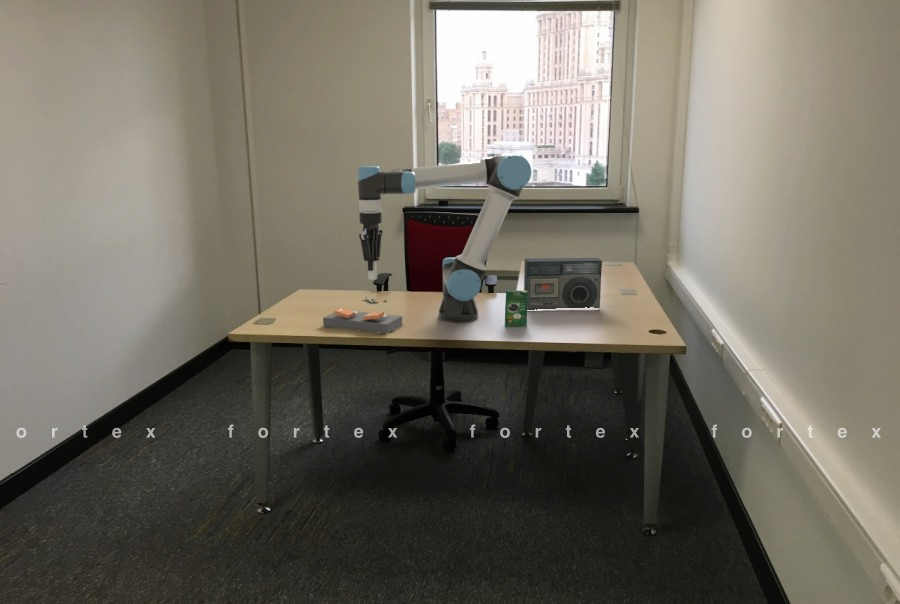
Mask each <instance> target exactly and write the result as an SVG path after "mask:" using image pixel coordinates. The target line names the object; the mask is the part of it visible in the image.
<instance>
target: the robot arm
mask: <svg viewBox="0 0 900 604" xmlns="http://www.w3.org/2000/svg"><path fill="white" fill-rule="evenodd" d="M357 172H358V173H357V186H358V187H357V188H358V189H357V191H358V207H359V212H360V213H359V214H358V215H359V224H361V225H362V233H359V235H358V237H359V240H360V244H361V250H362V256H363V260H364V262H367V278H368V280H371V281H375V280H378V270H377V269H378V263H377V261H380V257H381V248H382V247H381V246H382V236H383V233H384V232H383V230H382V229H380V227H379V224H381V223H382V219H383V218H382V213H381V212H382V196H381V195H410V194H414V193H416V190H420V189H430V188H439V187H440V188H441V187H449V186H459V185H467V184H477V183H478V184H479V183H482V184H483V185H485V186H486V185H487V187H488V193H487V197H486V198H485V201H484V203H483V205H482V208H481V210H480V212H479V214H478V216H477V219H476V221H475V224H474V226H473V228H472V230H471V232H470V234H469V237H468V238H467V241H466V244H465V246H464V249H463V251H462V253H461V254H458V255H456V256H455V257H445V258H443V260H442V265H441V266H442V299H441V302H440V305H439V308H438V318H439V319H440V320H442V321H445V322H453V323H457V322H459V323H462V322H463V323H464V322H470V321H474V320H477V319H478V318H479V309H478V307H477V304H476V300H475V297H477V296H478V295H479V293H480V291H481V288H482V280H483V278H484V276H485V273H486V271H487V267H486V266H485V262H486V260H487V258H488V256H489V254H490V251H491V249H492V247H493V244H494V243H495V240H496V238H497V236H498V234H499V231H500V229H501V227H502V224H504V223H503V222H504V220H505V218H506V216H507V213H508V211H509V209H510V206H511V205H512V203H513V201H516V200H519V197H520V196H521V193H522V192H523V189H524V187H526V185H527V184H528V183H529V182H530V180H531V179H532V178H531V177H532V167H531V164H530V163H529V160H527V159H526V158H525V157H524V156H522V155H521V154H519V153H514V152H513V153H512V152H511V153H510V152H506V153H501V154H497V155H495V156H487V157H482V158H481V159H480V160H478V161H470V162H461V163H451V164H440V165H432V166H423V167H413V168H412V167H411V168H404V169H403V168H402V169H399V168H396V169H393V170H391V171H381V167H380V166H378V165H363V166H360V167H358V169H357Z"/></svg>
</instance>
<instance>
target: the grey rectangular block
mask: <svg viewBox="0 0 900 604" xmlns="http://www.w3.org/2000/svg"><path fill="white" fill-rule="evenodd" d="M352 311H353V312H355V315H354V316H352V317H350V318H346V317H343V316H340V315H336V314H334V312H332V313H330V314H328V315H325V316H323V317H322V322H323V328H331V329H340V330H349V331H356V330H360V331H359V332H365V331H370V332H369V333H374V332H380V333H379V334H383V333H388V334H390V333H391V331H392V332H394V331H395V330H397V329H398V327H399V326H400V327H402V326H403V315H397V314H396V315H395V314H386V313H384V316H382V317H381V318H378V319H367V320H364V317H363V316H365V315H367V314H370V313H371V312H364V311H356V310H352ZM401 325H402V326H401ZM400 327H399V328H400ZM396 328H397V329H396ZM394 329H395V330H394ZM389 332H390V333H389Z"/></svg>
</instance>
